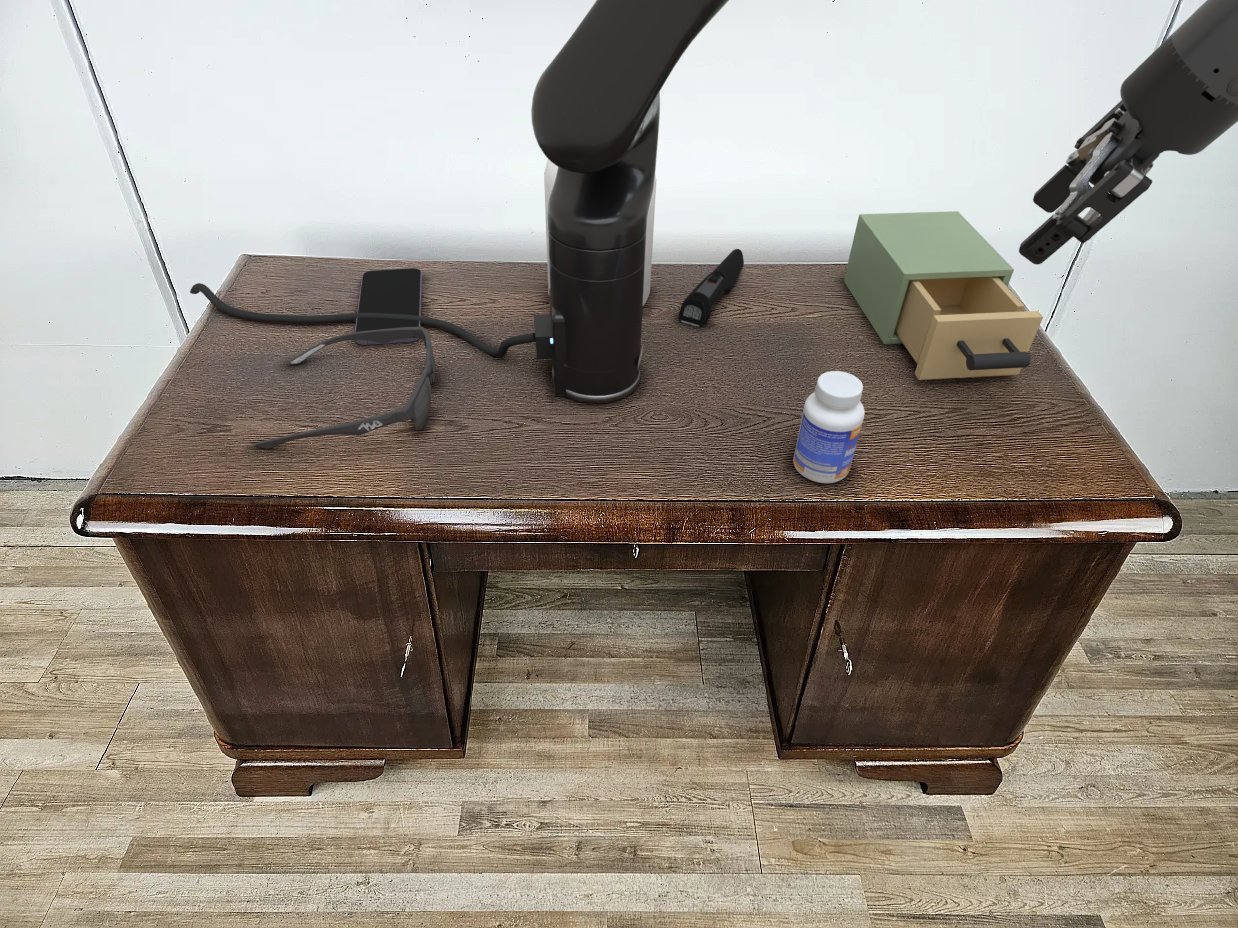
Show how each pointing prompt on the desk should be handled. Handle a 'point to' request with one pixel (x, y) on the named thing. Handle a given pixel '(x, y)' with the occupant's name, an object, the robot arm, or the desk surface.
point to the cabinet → (913, 260)
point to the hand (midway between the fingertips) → (1034, 230)
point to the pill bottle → (830, 428)
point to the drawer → (965, 328)
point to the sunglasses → (412, 410)
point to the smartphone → (389, 300)
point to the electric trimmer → (711, 290)
